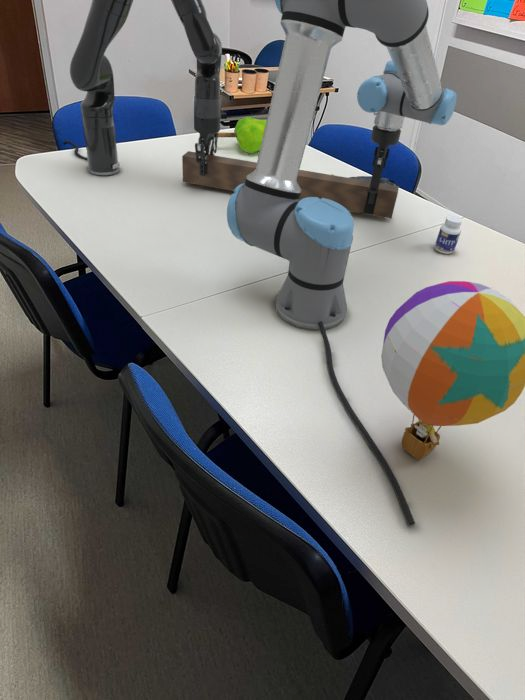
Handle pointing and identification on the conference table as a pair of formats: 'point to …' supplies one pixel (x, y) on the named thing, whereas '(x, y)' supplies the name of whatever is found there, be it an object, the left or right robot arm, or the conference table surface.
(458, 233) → the pill bottle
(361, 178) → the fish model
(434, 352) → the toy
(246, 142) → the decorative tree
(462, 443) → the conference table surface
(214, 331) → the conference table surface
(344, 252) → the right robot arm
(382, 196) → the beam
